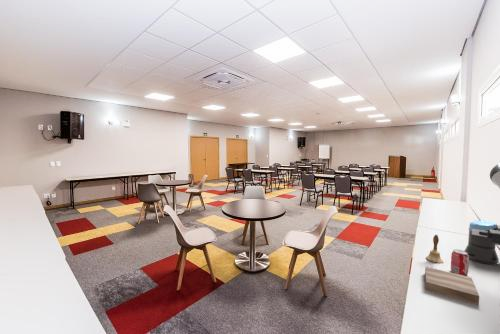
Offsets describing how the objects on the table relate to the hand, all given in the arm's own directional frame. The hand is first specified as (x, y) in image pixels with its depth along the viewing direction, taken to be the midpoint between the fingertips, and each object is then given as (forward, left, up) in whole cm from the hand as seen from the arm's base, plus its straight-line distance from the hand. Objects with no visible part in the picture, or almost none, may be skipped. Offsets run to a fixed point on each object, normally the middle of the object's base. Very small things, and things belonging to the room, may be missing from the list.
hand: (481, 231), depth 115 cm
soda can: (-3, -7, -26) cm, 27 cm away
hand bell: (-14, -17, -26) cm, 34 cm away
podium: (+18, -13, -25) cm, 34 cm away
